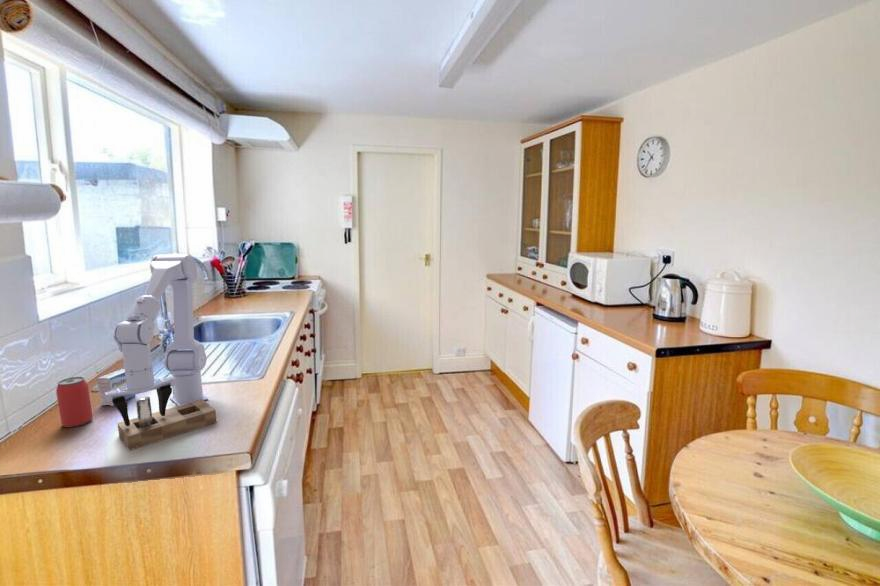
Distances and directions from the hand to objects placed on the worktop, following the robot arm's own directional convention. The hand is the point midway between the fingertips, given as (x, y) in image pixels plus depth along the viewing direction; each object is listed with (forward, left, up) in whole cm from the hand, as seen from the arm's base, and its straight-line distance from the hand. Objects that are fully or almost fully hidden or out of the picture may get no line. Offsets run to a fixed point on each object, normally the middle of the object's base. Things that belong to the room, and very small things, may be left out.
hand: (145, 419), depth 113 cm
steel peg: (0, 0, -4) cm, 4 cm away
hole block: (0, +5, -4) cm, 7 cm away
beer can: (-22, -11, -5) cm, 25 cm away
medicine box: (-31, 0, -5) cm, 31 cm away
